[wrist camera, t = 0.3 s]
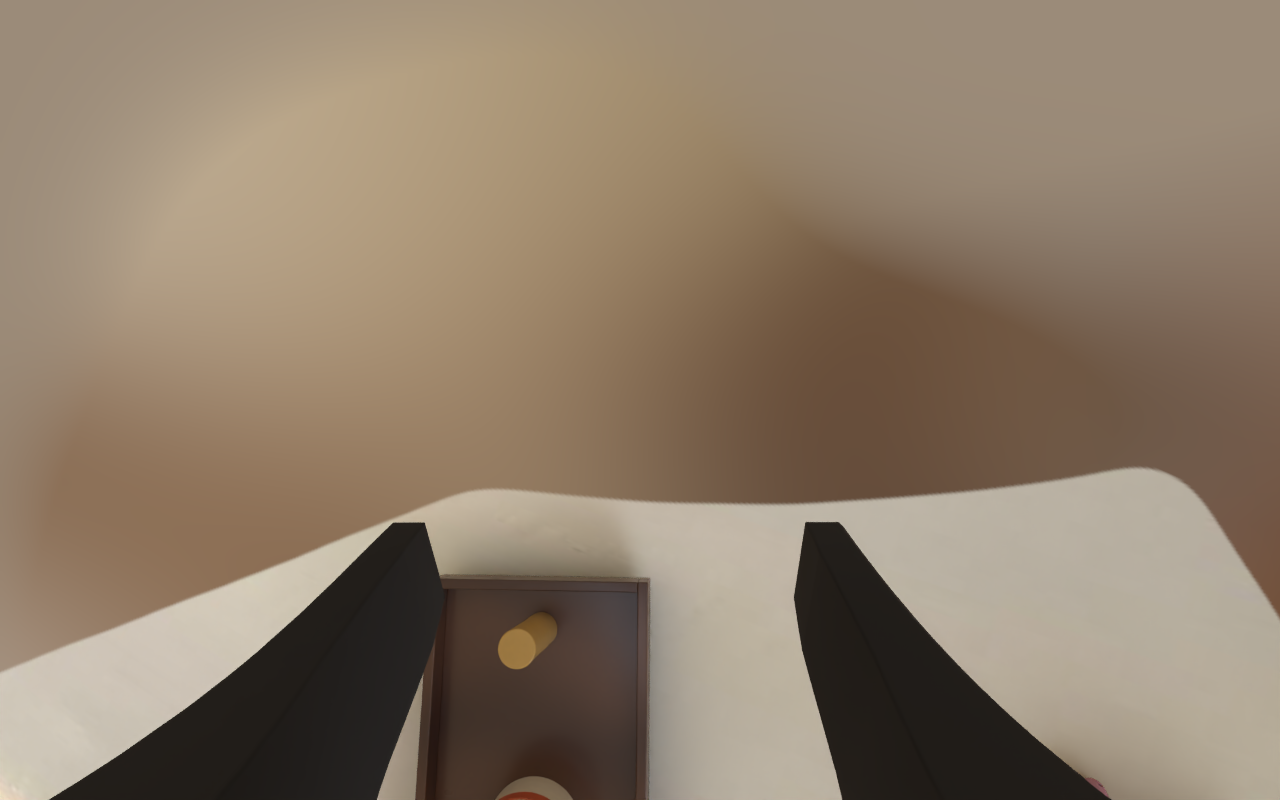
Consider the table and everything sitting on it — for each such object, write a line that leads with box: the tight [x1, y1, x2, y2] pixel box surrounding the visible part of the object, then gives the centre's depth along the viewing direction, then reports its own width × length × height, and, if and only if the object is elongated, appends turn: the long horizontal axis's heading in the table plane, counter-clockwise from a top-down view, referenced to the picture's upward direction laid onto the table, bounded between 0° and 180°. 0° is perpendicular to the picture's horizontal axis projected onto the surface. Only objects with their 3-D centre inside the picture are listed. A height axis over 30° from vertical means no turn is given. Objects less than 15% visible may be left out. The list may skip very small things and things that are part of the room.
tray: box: [415, 574, 650, 800], centre depth 34 cm, size 18×13×6 cm
